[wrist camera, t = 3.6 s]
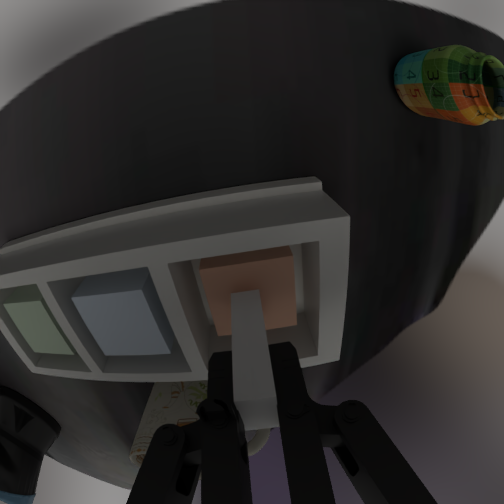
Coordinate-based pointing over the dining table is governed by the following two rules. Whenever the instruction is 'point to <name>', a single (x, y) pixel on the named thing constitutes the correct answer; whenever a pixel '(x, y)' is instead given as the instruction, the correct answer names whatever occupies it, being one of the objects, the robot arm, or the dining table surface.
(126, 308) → the key
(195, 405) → the mug
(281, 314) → the key
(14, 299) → the key
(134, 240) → the three-slot tray
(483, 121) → the jar
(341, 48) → the dining table surface
